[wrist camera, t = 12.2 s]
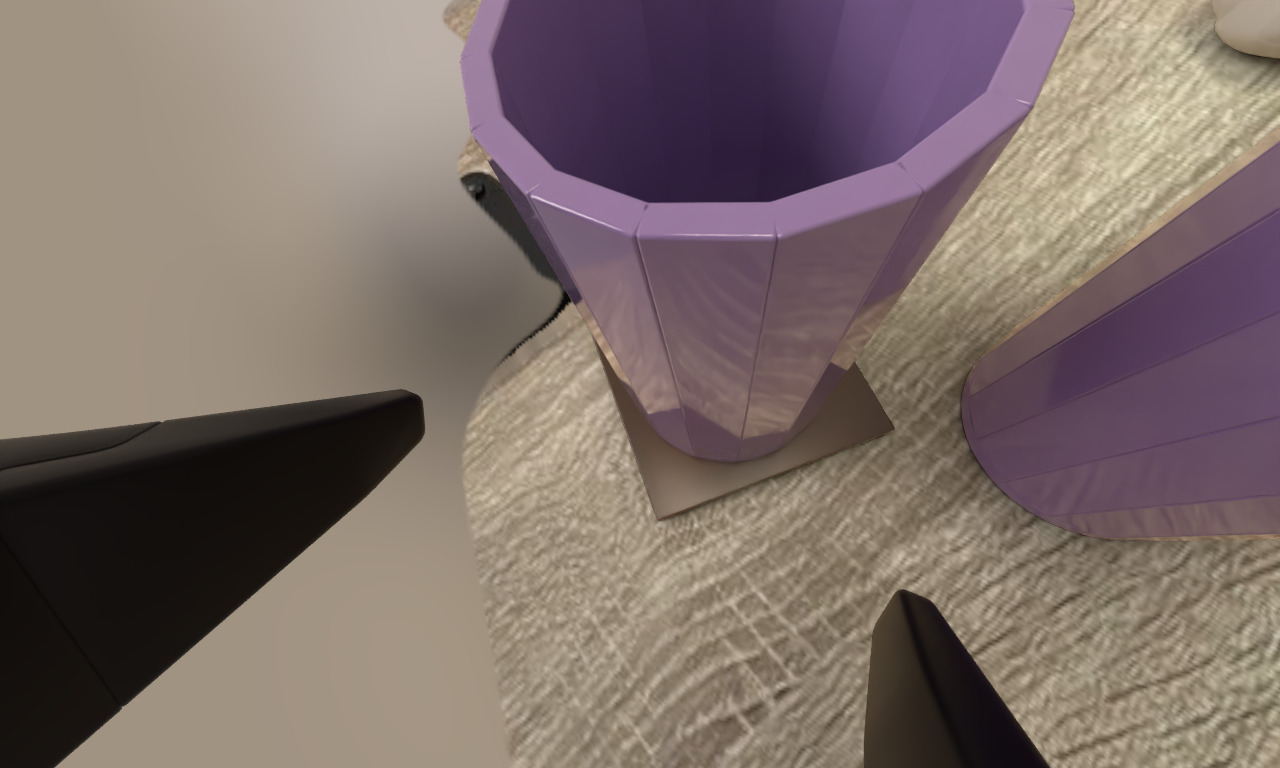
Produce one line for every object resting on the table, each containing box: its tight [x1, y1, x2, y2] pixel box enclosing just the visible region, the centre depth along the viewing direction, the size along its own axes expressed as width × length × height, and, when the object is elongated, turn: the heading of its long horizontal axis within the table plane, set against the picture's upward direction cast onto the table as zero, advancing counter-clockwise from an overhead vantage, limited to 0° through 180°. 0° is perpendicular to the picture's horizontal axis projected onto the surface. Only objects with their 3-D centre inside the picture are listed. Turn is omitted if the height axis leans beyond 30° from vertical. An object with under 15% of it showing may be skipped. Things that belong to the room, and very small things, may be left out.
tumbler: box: [460, 0, 1075, 462], centre depth 11 cm, size 7×7×12 cm
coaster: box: [591, 333, 895, 521], centre depth 17 cm, size 8×8×1 cm
